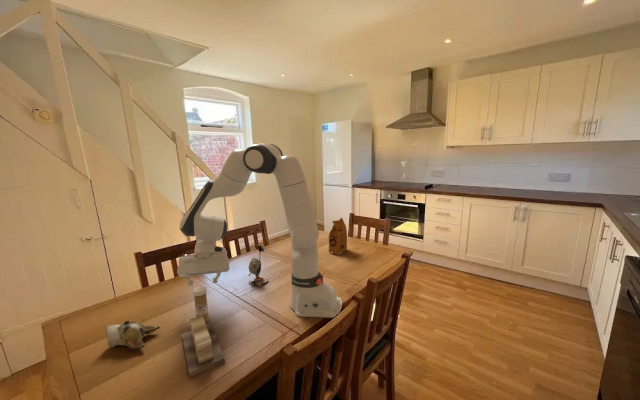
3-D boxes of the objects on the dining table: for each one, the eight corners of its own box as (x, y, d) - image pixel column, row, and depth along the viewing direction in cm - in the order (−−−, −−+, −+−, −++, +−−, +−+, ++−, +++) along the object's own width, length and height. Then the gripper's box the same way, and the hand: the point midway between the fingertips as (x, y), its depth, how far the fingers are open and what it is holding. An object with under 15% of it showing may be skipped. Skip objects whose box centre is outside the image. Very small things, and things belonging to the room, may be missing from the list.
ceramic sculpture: (116, 312, 92) (159, 311, 93) (118, 333, 93) (161, 332, 95) (93, 332, 81) (142, 331, 83) (96, 356, 83) (144, 354, 84)
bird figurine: (257, 275, 137) (255, 240, 133) (270, 282, 129) (268, 245, 126) (244, 281, 131) (241, 244, 128) (256, 288, 123) (253, 249, 120)
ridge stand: (182, 338, 91) (179, 319, 89) (212, 327, 96) (210, 309, 95) (189, 377, 74) (186, 355, 73) (225, 361, 79) (223, 340, 78)
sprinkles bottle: (196, 325, 97) (192, 292, 95) (196, 318, 102) (193, 287, 99) (209, 321, 99) (206, 290, 97) (209, 315, 103) (205, 284, 101)
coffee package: (326, 252, 168) (325, 220, 164) (337, 247, 177) (336, 216, 174) (338, 255, 162) (338, 222, 158) (349, 250, 171) (349, 218, 167)
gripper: (177, 252, 107) (172, 285, 99) (228, 247, 111) (227, 278, 104) (181, 258, 112) (177, 289, 104) (230, 253, 116) (229, 283, 109)
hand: (202, 284), depth 104 cm, fingers open, 8 cm apart
